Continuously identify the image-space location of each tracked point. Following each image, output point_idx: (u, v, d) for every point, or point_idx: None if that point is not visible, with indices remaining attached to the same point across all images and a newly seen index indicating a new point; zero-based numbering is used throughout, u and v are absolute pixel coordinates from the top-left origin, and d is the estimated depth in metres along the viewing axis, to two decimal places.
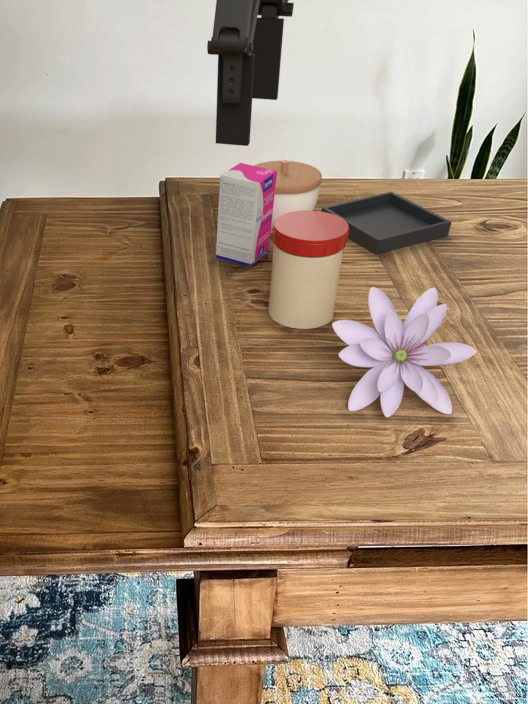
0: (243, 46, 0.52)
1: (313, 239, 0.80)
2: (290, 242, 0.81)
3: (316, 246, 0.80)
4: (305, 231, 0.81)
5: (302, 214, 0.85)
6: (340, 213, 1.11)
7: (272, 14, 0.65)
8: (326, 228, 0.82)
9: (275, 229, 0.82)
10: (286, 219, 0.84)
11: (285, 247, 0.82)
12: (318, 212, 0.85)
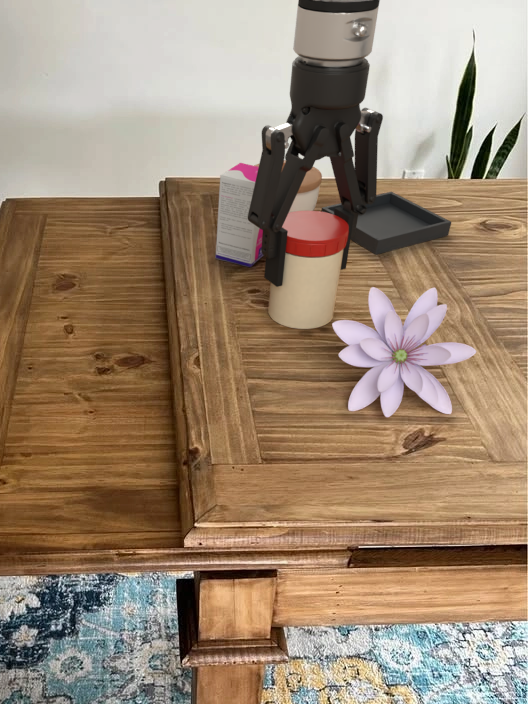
0: None
1: (313, 239, 0.80)
2: (290, 242, 0.81)
3: (316, 246, 0.80)
4: (305, 231, 0.81)
5: (302, 214, 0.85)
6: None
7: None
8: (326, 228, 0.82)
9: None
10: (286, 219, 0.84)
11: None
12: (318, 212, 0.85)
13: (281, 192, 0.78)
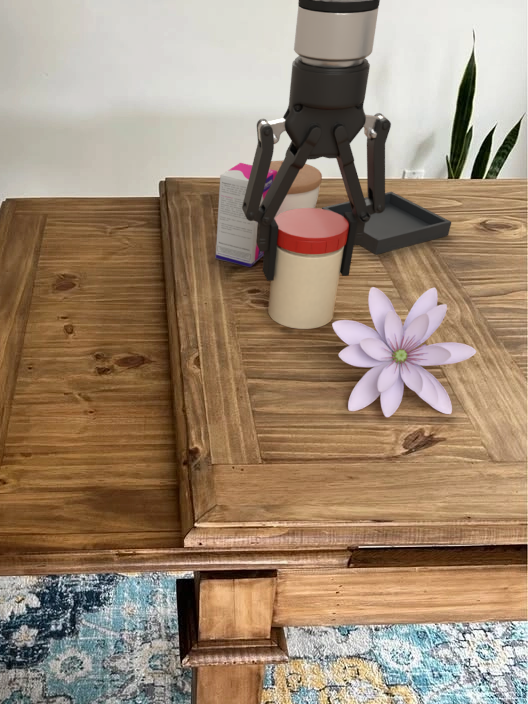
0: None
1: (321, 210, 0.85)
2: None
3: None
4: (322, 217, 0.84)
5: (310, 233, 0.80)
6: (340, 213, 1.11)
7: (354, 213, 0.82)
8: (299, 217, 0.84)
9: (348, 226, 0.82)
10: (331, 231, 0.81)
11: None
12: (291, 232, 0.81)
13: None
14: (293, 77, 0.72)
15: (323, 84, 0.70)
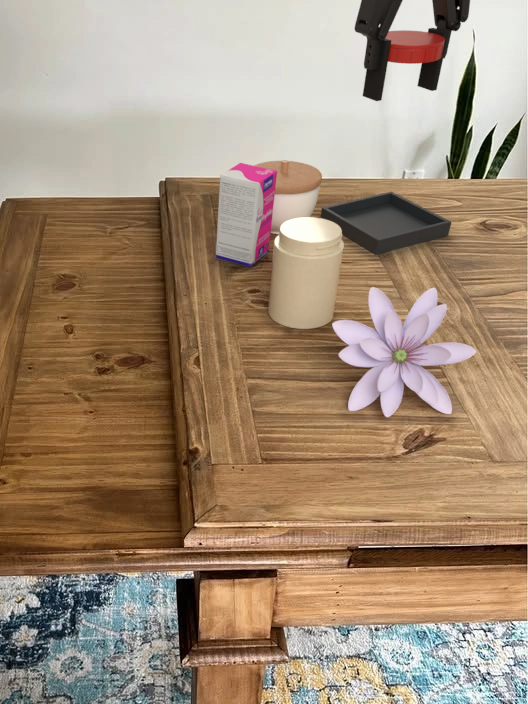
0: (367, 33, 0.84)
1: (403, 31, 0.92)
2: None
3: None
4: (412, 34, 0.90)
5: (420, 43, 0.87)
6: (340, 213, 1.11)
7: (442, 25, 0.90)
8: (394, 36, 0.90)
9: None
10: (434, 40, 0.88)
11: None
12: (405, 44, 0.86)
13: None
14: None
15: None
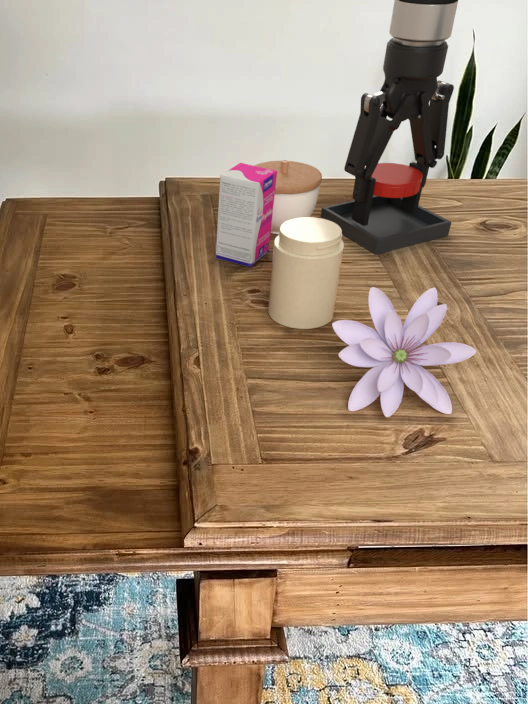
0: (355, 175, 0.99)
1: (388, 164, 1.06)
2: None
3: None
4: (395, 168, 1.04)
5: (400, 181, 1.01)
6: (340, 213, 1.11)
7: (421, 162, 1.04)
8: (379, 170, 1.04)
9: None
10: (413, 177, 1.02)
11: None
12: (387, 182, 1.01)
13: None
14: (394, 57, 0.92)
15: (424, 60, 0.90)
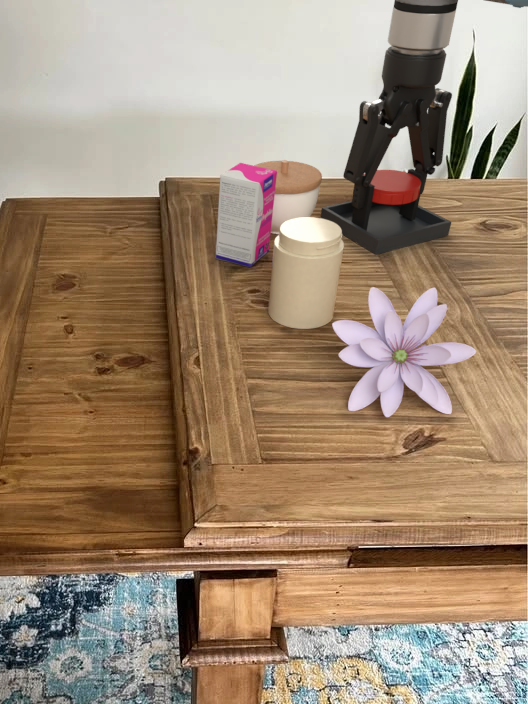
0: (354, 182, 0.99)
1: (387, 170, 1.07)
2: None
3: None
4: (394, 175, 1.05)
5: (399, 188, 1.02)
6: (340, 213, 1.11)
7: (419, 169, 1.05)
8: (378, 177, 1.05)
9: None
10: (411, 184, 1.03)
11: None
12: (386, 189, 1.01)
13: None
14: (393, 65, 0.92)
15: (422, 68, 0.91)
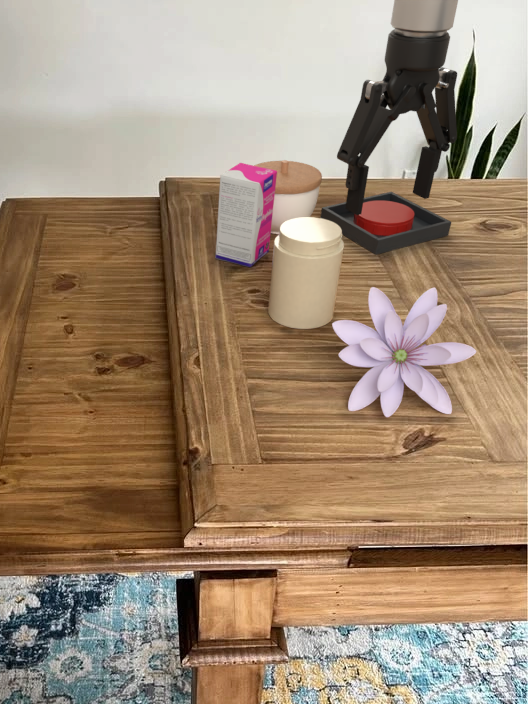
0: (347, 162, 0.97)
1: (381, 201, 1.10)
2: None
3: None
4: (388, 206, 1.08)
5: (393, 219, 1.05)
6: (340, 213, 1.11)
7: (434, 147, 1.03)
8: (372, 208, 1.08)
9: None
10: (405, 215, 1.06)
11: None
12: (380, 221, 1.04)
13: None
14: (396, 48, 0.91)
15: (426, 51, 0.90)
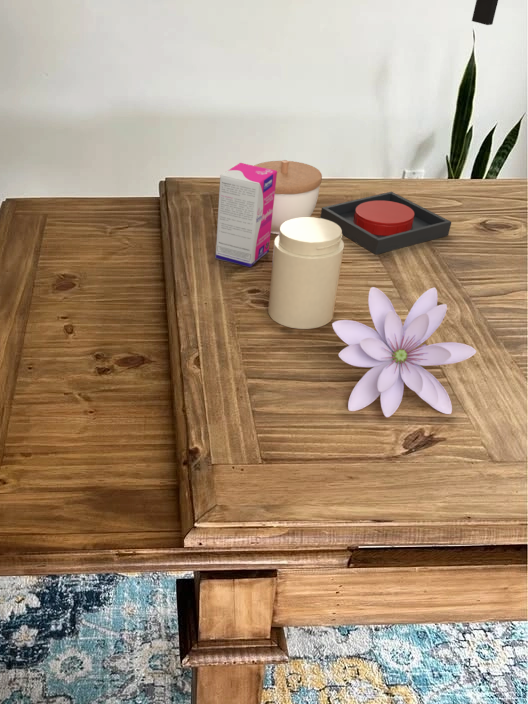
0: None
1: (381, 201, 1.10)
2: None
3: None
4: (388, 206, 1.08)
5: (393, 219, 1.05)
6: (340, 213, 1.11)
7: None
8: (372, 208, 1.08)
9: None
10: (405, 215, 1.06)
11: None
12: (380, 221, 1.04)
13: None
14: None
15: None
